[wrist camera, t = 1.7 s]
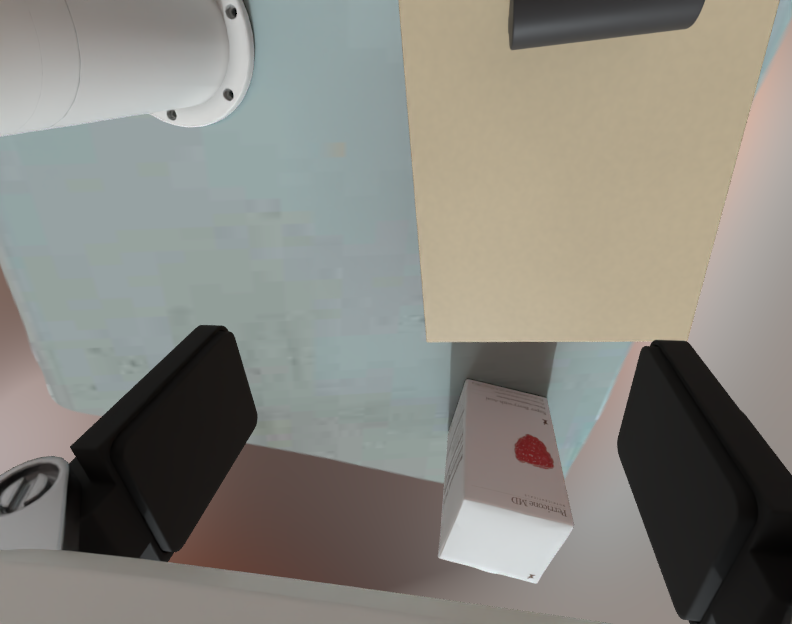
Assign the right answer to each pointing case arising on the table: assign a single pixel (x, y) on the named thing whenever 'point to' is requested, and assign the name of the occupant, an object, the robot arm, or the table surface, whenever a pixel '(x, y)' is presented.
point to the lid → (573, 160)
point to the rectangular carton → (503, 484)
